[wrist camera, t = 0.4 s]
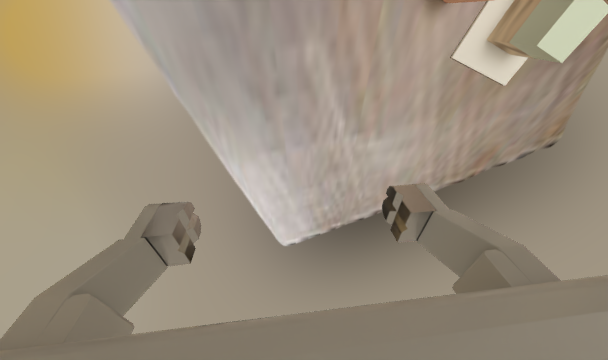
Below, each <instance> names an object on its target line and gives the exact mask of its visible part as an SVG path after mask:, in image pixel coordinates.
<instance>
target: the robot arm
mask: <svg viewBox="0 0 608 360" xmlns="http://www.w3.org/2000/svg"><path fill="white" fill-rule="evenodd" d="M386 194H387V196H388V197H387V198H386V199H385V200H384V201H383V205H382V213H383V216H384V218H385V220H386V222H388V223H389V224H391V225H392V226H391V229H390V230H391V232H392V234H393V235H394V237H395V239H396V241H397V242H398V243H399V242H413V241H417V243H418V244H420V245H421V246H422V247H423V248H425V249H426V250H427V251H428V252H429V253H431V254H432V255H433V256H434V257H436V258H437V259H438V260H439V261H441V262H442V263H443V264H444V265H446V266H447V267H448V268H449V269H451V270H452V271H453V272H454V273H455V274H457V275H458V276H459V277H460V278H459V279H458V280H457V281H456V282H455V283H454V285H453V287H452V288H453V290H454V291H455V293H456V294H451V295H443V296H435V297H427V298H419V299H411V300H403V301H395V302H386V303H378V304H371V305H362V306H355V307H347V308H338V309H331V310H323V311H314V312H306V313H298V314H290V315H282V316H274V317H266V318H258V319H250V320H242V321H234V322H226V323H219V324H210V325H202V326H194V327H186V328H178V329H170V330H162V331H154V332H146V333H138V334H132V331H133V329H134V325H133V323H131V322H130V321H129V320H127V319H126V318H124V317H123V316H124V315H125V314H126V312H127V311H128V310H129V309H130V308H131V307H132V306H133V305H134V304H135V303H136V302H137V301H138V299H139V298H140V297H141V296H142V295H143V294H144V293H145V292H146V291H147V290H148V289H149V287H150V286H151V285H152V284H153V283H154V282H155V281H156V280H157V278H159V277H160V275H161V274H162V273H163V272H164V271H165V270H166V269H167V266H175V265H183V264H190V263H191V261H192V258H193V255H194V252H195V246H194V242H196V241H197V240H198V239H199V236H200V233H201V223H200V219H199V217H198V216H197V215H195V214H194V213H193V211H194V207H193V205H192V203H190V202H178V203H162V204H149V205H147V206H145V207H144V209H143V210H142V212H141V213H140V215H139V217H138V218H137V220H136V221H135V223H134V224H133V226H132V227H131V229H130V230H129V232H128V233H127V235H126V236H125V238H124V239H122V240H118V241H116V242H115V243H114V244H112V245H111V246H109V247H108V248H106V249H105V250H104V251H102V252H100V253H99V254H98V255H96V256H95V257H93V258H92V259H90V260H89V261H87V262H86V263H85V264H83V265H82V266H80V267H79V268H77V269H76V270H74V271H73V272H71V273H70V274H69V275H67V276H66V277H64V278H63V279H61V280H60V281H58V282H57V283H55V284H54V285H53V286H51V287H50V288H48V289H47V290H45V291H44V292H42V293H41V294H39V295H38V296H37V297H35V298H34V299H33V300H32V302H31V303H30V304H29V306H27V308H26V309H25V310H24V311H23V312H22V314H21V315H20V316H19V317H18V319H17V320H16V321H15V322H14V323H13V325H12V326H11V327H10V328H9V329H8V331H7V332H6V333H5V334H4V336H3V337H2V338H1V339H0V360H608V275H604V276H595V277H587V278H579V279H572V280H563V281H561V280H560V279H558V277H557V276H555V275H554V274H553V273H552V272H551V271H550V270H549V269H548V268H547V267H546V266H545V265H544V264H543V263H542V262H541V261H540V260H538V258H537V257H535V256H534V255H533V254H532V253H531V252H530V251H529V250H528V249H527V248H526V247H525V246H524V245H522V244H520V243H518V242H516V241H514V240H512V239H510V238H508V237H506V236H504V235H502V234H500V233H498V232H496V231H494V230H492V229H490V228H488V227H486V226H484V225H482V224H480V223H478V222H477V221H475V220H472V219H471V218H469V217H466V216H465V215H463V214H461V213H459V212H457V211H455V210H449V209H448V207H447V206H446V205H445V204H444V203H443V202H442V201H441V200H440V199H439V197H438V196H437V195H436V194H435V193H434V191H433V190H432V189H431V188H430V187H429V186H428V185H427V184H425V183H419V184H409V185H397V186H389V188H388V189H387V192H386Z"/></svg>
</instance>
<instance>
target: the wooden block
mask: <svg viewBox="0 0 608 360" xmlns="http://www.w3.org/2000/svg"><path fill="white" fill-rule="evenodd" d="M540 1H541V0H514V2H513V3H512V4H511V6H510V7H509V9H508V10H507V11H506V13H505V14H504V16H503V17H502V19H501V20H500V21H499V23H498V24H497V26H496V27H495V28H494V30H493V31H492V33H491V34H490V36H489V37H488V38H487V41H489V42H491V43H492V44H494V45H495V46H497V47H499V48H500V49H502V50H504V51H505V52H507V53H508V54H510V55H516V56H522V57H528V58H532V57H531V56H529V55H528V54H526V53H525V52H523V51H521V50H520V49H518V48H517V47H515V46H514V45H512V44H511V43H509V42H510V41H511V39H512V38H513V37H514V35H515V34H516V33H517V31H518V30H519V29H520V27H521V26H522V25H523V24H524V22H525V21H526V20H527V18H528V17H529V16H530V14H531V13H532V12H533V10H534V9H535V8H536V6H537V5H538V4H539V2H540Z"/></svg>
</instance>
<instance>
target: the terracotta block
mask: <svg viewBox="0 0 608 360" xmlns="http://www.w3.org/2000/svg"><path fill="white" fill-rule="evenodd" d="M443 1H444V2H446V3H458V2H476V1H493V0H443Z"/></svg>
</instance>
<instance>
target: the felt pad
mask: <svg viewBox="0 0 608 360" xmlns="http://www.w3.org/2000/svg"><path fill="white" fill-rule="evenodd" d="M513 2H514V0H493V1H487V2H486V3H485V5H484V6H483V8H482V10H481V11H480V13H479V14H478V16H477V17H476V19H475V20H474V22H473V23H472V25H471V26H470V28H469V30H468V31H467V33H466V34H465V36H464V37H463V39H462V40H461V42H460V43H459V45H458V46H457V48H456V50H455V51H454V53H453V54H452V56H451V58H453V59H454V60H456V61H458V62H460V63H462V64H464V65H466V66H468V67H470V68H472V69H473V70H475V71H477V72H479V73H481V74H483V75H485V76H487V77H489V78H491V79H492V80H494V81H496V82H498V83H500V84H502V85H504V86H505V85H506V84H507V83H508V81H509V80H510V79H511V78H512V77H513V75H514V74H515V73H516V72H517V70H518V69H519V68H520V67H521V66H522V64H523V63H524V62H525V61H526V60H527V58H528V57H522V56H516V55H510V54H508V53H507V52H505V51H504V50H502V49H500V48H499V47H497V46H495V45H494V44H492V43H491V42H489V41H487V38H488V37H489V36H490V34H491V33H492V31H493V30H494V28H495V27H496V26H497V24H498V23H499V21H500V20H501V19H502V17H503V16H504V14H505V13H506V11H507V10H508V9H509V7H510V6H511V4H512V3H513Z"/></svg>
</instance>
